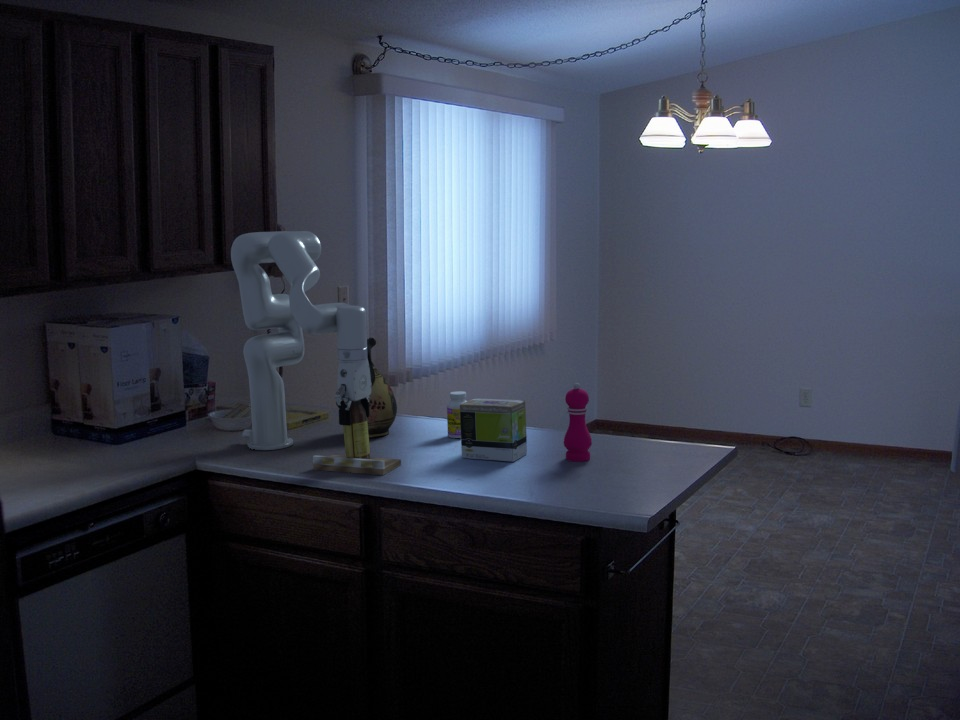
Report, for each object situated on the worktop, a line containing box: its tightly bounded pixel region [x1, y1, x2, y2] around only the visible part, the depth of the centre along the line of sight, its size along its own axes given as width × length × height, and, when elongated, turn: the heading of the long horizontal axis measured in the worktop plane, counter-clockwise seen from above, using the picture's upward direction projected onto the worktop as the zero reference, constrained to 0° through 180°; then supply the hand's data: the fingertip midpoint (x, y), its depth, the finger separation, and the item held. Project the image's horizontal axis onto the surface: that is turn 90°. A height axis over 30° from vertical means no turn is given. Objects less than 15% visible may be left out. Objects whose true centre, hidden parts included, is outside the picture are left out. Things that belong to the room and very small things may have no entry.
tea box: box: [460, 397, 528, 463], centre depth 264 cm, size 15×10×15 cm, turn 65°
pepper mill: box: [563, 382, 593, 463], centre depth 258 cm, size 7×7×20 cm
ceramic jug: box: [345, 337, 398, 439], centre depth 291 cm, size 17×15×30 cm
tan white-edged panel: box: [312, 454, 402, 476], centre depth 257 cm, size 20×10×4 cm, turn 68°
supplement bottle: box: [446, 390, 469, 439], centre depth 288 cm, size 7×7×13 cm
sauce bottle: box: [342, 400, 371, 459], centre depth 256 cm, size 7×6×20 cm
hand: (354, 420), depth 256 cm, fingers open, 9 cm apart
